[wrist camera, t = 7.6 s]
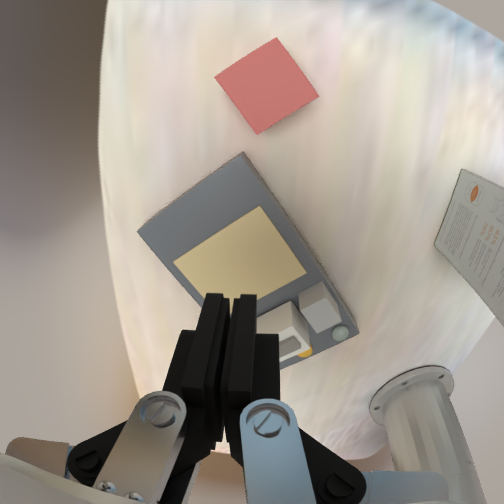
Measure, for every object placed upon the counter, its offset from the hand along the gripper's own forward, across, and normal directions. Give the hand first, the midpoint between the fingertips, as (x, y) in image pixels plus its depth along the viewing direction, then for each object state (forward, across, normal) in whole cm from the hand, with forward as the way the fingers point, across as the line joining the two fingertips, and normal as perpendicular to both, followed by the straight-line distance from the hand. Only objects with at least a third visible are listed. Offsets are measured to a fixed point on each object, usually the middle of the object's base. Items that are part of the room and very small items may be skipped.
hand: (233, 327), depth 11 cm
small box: (+17, -21, +1) cm, 27 cm away
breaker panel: (+17, 0, +8) cm, 19 cm away
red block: (+17, -1, -8) cm, 19 cm away
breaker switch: (+14, -3, +12) cm, 19 cm away
